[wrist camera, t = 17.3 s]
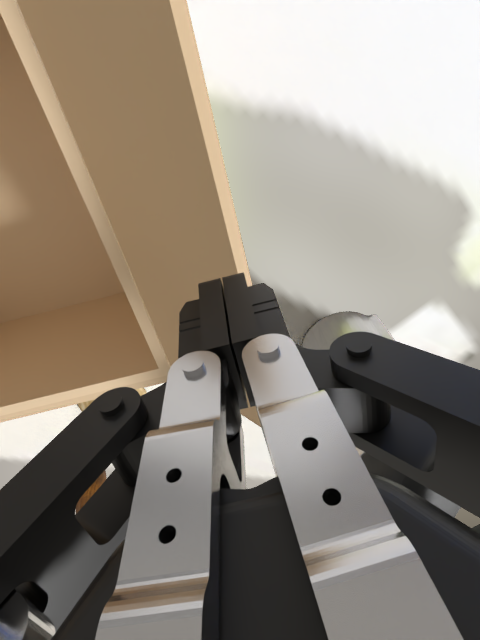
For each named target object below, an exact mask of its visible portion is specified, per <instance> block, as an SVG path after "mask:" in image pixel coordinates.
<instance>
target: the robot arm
mask: <svg viewBox="0 0 480 640" xmlns="http://www.w3.org/2000/svg"><path fill="white" fill-rule="evenodd" d="M222 281H223V284H222ZM222 281H221V278H218V279H214V280H210V281H206V282H202V283H199V284H198V289H199V299H196V300H192V301H188V302H186V303H185V304H184V306H183V308H182V309H181V311H180V312H179V346H178V360H176V361H175V362H174V363H173V364H172V366H171V367H170V369H169V372H168V377H167V382H165V383H164V384H163V385H161V386H160V387H158V388H156V389H154V390H152V391H150V392H148V393H146V394H144V395H142V396H140V394H139V393H138V391H136V390H135V389H133V388H130V387H119V388H115V389H112V390H109V391H107V392H105V393H103V394H102V395H100V396H99V397H98V398H96V399H95V400H94V401H93V402H92V403H91V404H90V405H89V406H88V407H87V408H86V409H85V410H84V411H83V412H81V413H80V414H79V415H78V416H77V417H76V418H75V419H74V420H73V421H72V422H71V423H70V424H69V425H68V426H67V427H66V428H65V429H64V430H63V431H62V432H60V433H59V434H58V435H57V436H56V437H55V438H54V439H53V440H52V441H51V442H50V443H49V444H48V445H47V446H46V447H45V448H44V449H43V450H42V451H41V452H40V453H38V454H37V455H36V456H35V457H34V458H33V459H32V460H31V461H30V462H29V463H28V464H27V465H26V466H25V467H24V468H23V469H22V470H21V471H20V472H19V473H17V474H16V476H14V477H13V478H12V479H11V480H10V481H9V482H8V483H7V484H6V485H5V486H4V487H3V488H2V489H1V490H0V640H480V524H479V525H477V526H475V527H473V528H470V527H468V526H467V525H465V524H463V523H462V522H460V521H459V520H457V519H456V518H454V517H455V516H456V514H457V512H458V511H459V509H460V508H461V507H462V508H464V509H465V510H467V511H469V512H471V513H473V514H474V515H476V516H478V517H479V518H480V370H478V369H475V368H472V367H469V366H466V365H463V364H460V363H457V362H455V361H452V360H449V359H446V358H443V357H440V356H437V355H434V354H431V353H428V352H426V351H423V350H420V349H417V348H414V347H411V346H408V345H405V344H402V343H400V342H397V341H395V340H394V338H393V337H392V335H391V334H390V333H389V331H388V330H387V328H386V327H385V326H384V324H383V323H382V321H381V320H380V319H379V317H378V316H377V315H371V316H366V315H363V314H360V313H357V312H350V311H349V312H339V313H335V314H332V315H329V316H327V317H325V318H323V319H321V320H320V321H318V322H317V323H316V324H315V325H313V326H312V327H311V328H310V330H309V331H308V332H307V334H306V336H305V338H304V340H303V343H302V347H301V346H299V345H297V344H295V343H294V341H293V340H292V339H291V338H290V336H289V334H288V331H287V328H286V325H285V323H284V320H283V317H282V314H281V311H280V308H279V306H278V303H277V301H276V297H275V294H274V292H273V289H271V288H270V287H268V286H267V285H266V284H264V283H261V284H257V285H253V286H249V287H247V283H246V279H245V275H244V272H242V273H238V274H234V275H230V276H226V277H222ZM223 287H224V288H223ZM245 390H246V392H245ZM246 393H247V396H248V400H249V403H250V407H252V406H256V409H257V413H258V416H259V420H260V424H261V427H262V431H263V434H264V437H265V441H266V444H267V447H268V451H269V454H270V458H271V461H272V464H273V468H274V471H275V474H276V477H275V478H273V479H271V480H269V481H267V482H265V483H263V484H261V485H259V486H257V487H254V488H251V489H246V475H245V455H244V436H243V430H242V426H241V413H240V409H245V408H248V403H247V397H246ZM111 463H112V464H113V465H114V467H115V470H114V471H113V472H112V474H111V475H110V476H109V477H108V478H107V479H106V480H105V482H104V483H103V484H102V485H101V486H100V487H99V488H98V490H97V491H96V492H95V493H94V494H93V495H92V497H91V498H90V499H89V500H88V501H87V502H86V503H85V505H84V506H83V507H82V508H81V509H80V510H79V511H78V513H77V514H76V515H75V508H76V505H77V503H78V501H79V499H80V498H81V497H82V495H83V494H84V493H85V492H86V491H87V490H88V489H89V487H90V486H91V485H92V484H93V483H94V482H95V481H96V480H97V478H98V477H99V476H100V475H101V474H102V473H103V472H104V471H105V469H106V468H107V467H108V466H109V465H110V464H111Z"/></svg>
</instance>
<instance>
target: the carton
mask: <svg viewBox="0 0 480 640" xmlns="http://www.w3.org/2000/svg"><path fill="white" fill-rule="evenodd" d="M170 367H171V366H170V363H169V361H168V359H167V356H166V354H165V351H164V349H163V347H162V344H161V342H160V340H159V337H158V335H157V333H156V330H155V328H154V325H153V323H152V321H151V318H150V316H149V314H148V311H147V309H146V306H145V304H144V302H143V299H142V297H141V295H140V292H139V290H138V287H137V285H136V283H135V280H134V278H133V276H132V273H131V271H130V268H129V266H128V264H127V261H126V259H125V257H124V254H123V252H122V249H121V247H120V245H119V242H118V240H117V238H116V235H115V233H114V230H113V228H112V226H111V223H110V221H109V219H108V216H107V214H106V211H105V209H104V207H103V204H102V202H101V200H100V197H99V195H98V192H97V190H96V188H95V185H94V183H93V181H92V178H91V176H90V174H89V171H88V169H87V166H86V164H85V162H84V159H83V157H82V155H81V152H80V150H79V147H78V145H77V143H76V140H75V138H74V136H73V133H72V131H71V128H70V126H69V124H68V121H67V119H66V117H65V114H64V112H63V109H62V107H61V105H60V102H59V100H58V98H57V95H56V93H55V90H54V88H53V86H52V83H51V81H50V79H49V76H48V74H47V71H46V69H45V67H44V64H43V62H42V60H41V57H40V55H39V52H38V50H37V48H36V45H35V43H34V41H33V38H32V36H31V34H30V31H29V29H28V26H27V24H26V22H25V19H24V17H23V15H22V12H21V10H20V7H19V5H18V3H17V0H0V422H4V421H8V420H12V419H16V418H21V417H25V416H29V415H33V414H37V413H41V412H45V411H49V410H53V409H58V408H62V407H66V406H70V405H74V404H78V403H82V402H86V401H90V400H95V399H96V398H98V397H99V396H100V395H102V394H103V393H105V392H107V391H109V390H112V389H115V388H119V387H130V388H133V389H135V390H136V389H140V388H144V387H148V386H152V385H156V384H160V383H165V382H167V377H168V372H169V369H170Z"/></svg>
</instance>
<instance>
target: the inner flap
mask: <svg viewBox="0 0 480 640" xmlns="http://www.w3.org/2000/svg"><path fill="white" fill-rule="evenodd" d="M17 3H18V5H19V7H20V10H21V12H22V15H23V17H24V19H25V22H26V24H27V26H28V29H29V31H30V34H31V36H32V38H33V41H34V43H35V45H36V48H37V50H38V52H39V55H40V57H41V60H42V62H43V64H44V67H45V69H46V71H47V74H48V76H49V79H50V81H51V83H52V86H53V88H54V90H55V93H56V95H57V98H58V100H59V102H60V105H61V107H62V109H63V112H64V114H65V117H66V119H67V121H68V124H69V126H70V128H71V131H72V133H73V136H74V138H75V140H76V143H77V145H78V147H79V150H80V152H81V155H82V157H83V159H84V162H85V164H86V166H87V169H88V171H89V174H90V176H91V178H92V181H93V183H94V185H95V188H96V190H97V192H98V195H99V197H100V200H101V202H102V204H103V207H104V209H105V211H106V214H107V216H108V219H109V221H110V223H111V226H112V228H113V230H114V233H115V235H116V238H117V240H118V242H119V245H120V247H121V249H122V252H123V254H124V257H125V259H126V261H127V264H128V266H129V268H130V271H131V273H132V276H133V278H134V280H135V283H136V285H137V287H138V290H139V292H140V295H141V297H142V299H143V302H144V304H145V306H146V309H147V311H148V314H149V316H150V318H151V321H152V323H153V325H154V328H155V330H156V333H157V335H158V337H159V340H160V342H161V344H162V347H163V349H164V351H165V354H166V356H167V359H168V361H169V363H170V366H172V364H173V363H174V362H175V361H176V360H178V346H179V312H180V311H181V309H182V308H183V306H184V304H185V303H186V302H188V301H192V300H196V299H199V289H198V284H199V283H202V282H206V281H210V280H214V279H218V278H221V281H222V277H226V276H230V275H234V274H238V273H242V272H244V275H245V279H246V283H247V287H249V286H252V282H251V277H250V273H249V269H248V264H247V260H246V256H245V251H244V247H243V243H242V239H241V234H240V230H239V226H238V221H237V217H236V213H235V208H234V204H233V200H232V195H231V191H230V187H229V182H228V178H227V175H226V169H225V165H224V161H223V157H222V152H221V148H220V144H219V139H218V135H217V131H216V126H215V122H214V118H213V113H212V109H211V105H210V100H209V96H208V92H207V87H206V83H205V79H204V74H203V70H202V66H201V61H200V57H199V53H198V49H197V44H196V40H195V36H194V31H193V27H192V23H191V18H190V14H189V10H188V5H187V1H186V0H17ZM222 284H223V281H222ZM223 288H224V287H223ZM245 392H246V390H245ZM246 397H247V403H248V408H245V409H240V413H241V414H242V415H243V416H245V417H246V418H248V419H249V420H251V421H252V422H254V423H255V424H257V425H258V426H260V427H261V424H260V420H259V416H258V413H257V409H256V406H252V407H250V403H249V400H248V396H247V393H246Z"/></svg>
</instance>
